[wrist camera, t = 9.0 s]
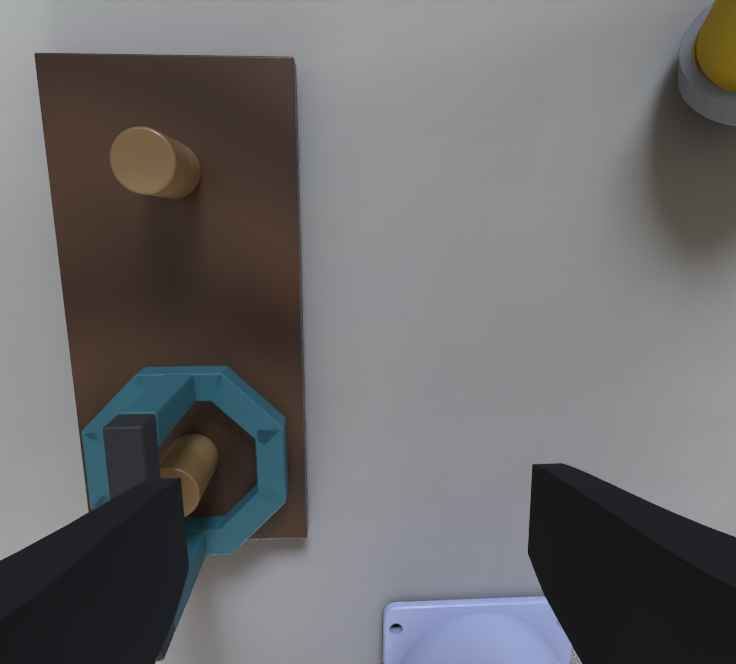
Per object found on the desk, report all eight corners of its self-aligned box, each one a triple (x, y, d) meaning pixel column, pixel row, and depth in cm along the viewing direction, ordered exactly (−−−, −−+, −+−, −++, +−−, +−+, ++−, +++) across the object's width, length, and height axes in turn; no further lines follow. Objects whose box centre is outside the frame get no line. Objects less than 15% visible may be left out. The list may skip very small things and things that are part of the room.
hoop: (290, 537, 20) (271, 657, 14) (107, 542, 20) (15, 668, 14) (284, 364, 19) (261, 423, 13) (87, 367, 18) (-22, 429, 13)
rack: (308, 524, 21) (301, 588, 17) (103, 530, 21) (52, 598, 17) (296, 65, 18) (284, 22, 14) (50, 61, 17) (-30, 17, 14)
